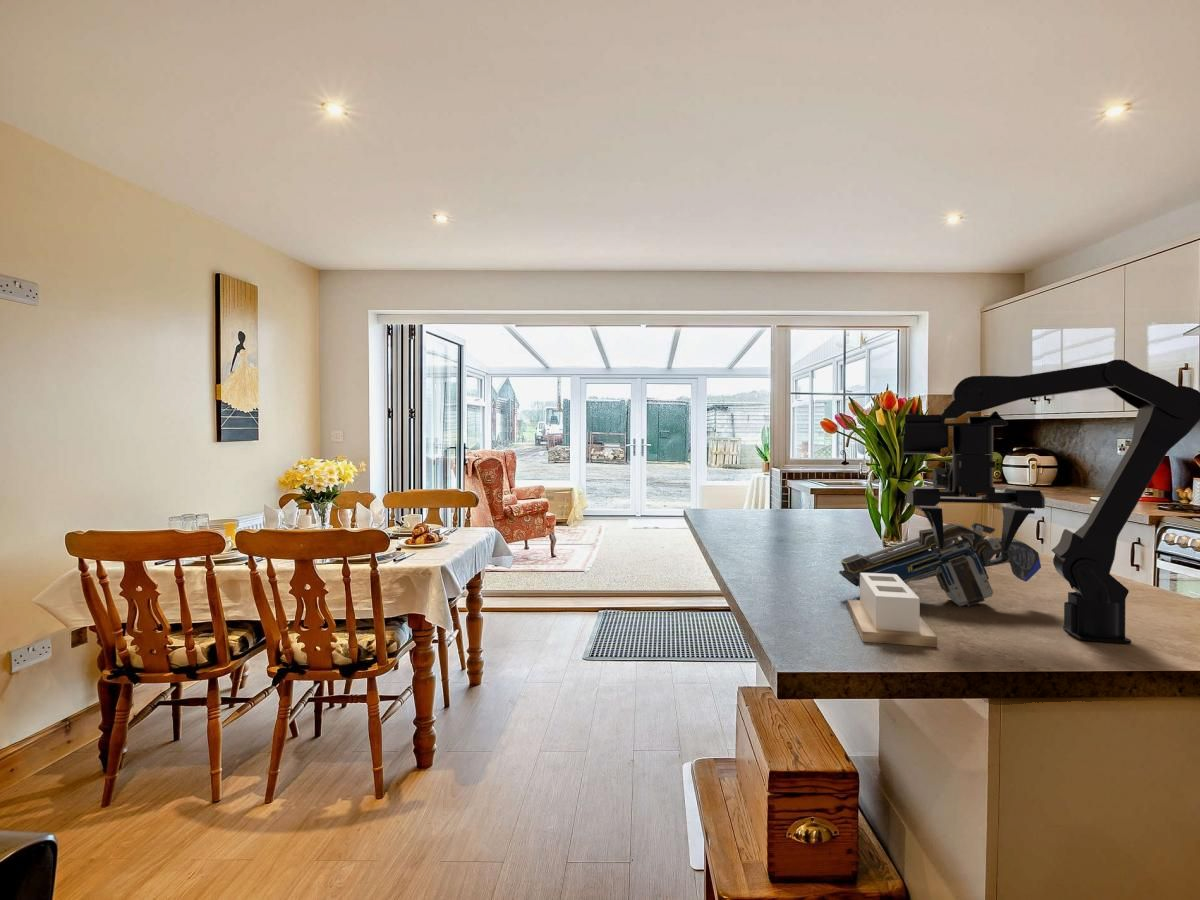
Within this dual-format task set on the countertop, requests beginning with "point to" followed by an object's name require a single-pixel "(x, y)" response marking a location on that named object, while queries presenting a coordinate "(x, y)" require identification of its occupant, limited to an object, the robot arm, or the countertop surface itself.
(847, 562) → the firearm
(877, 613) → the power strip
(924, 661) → the countertop surface
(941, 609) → the countertop surface
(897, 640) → the mounting board
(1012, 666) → the countertop surface
